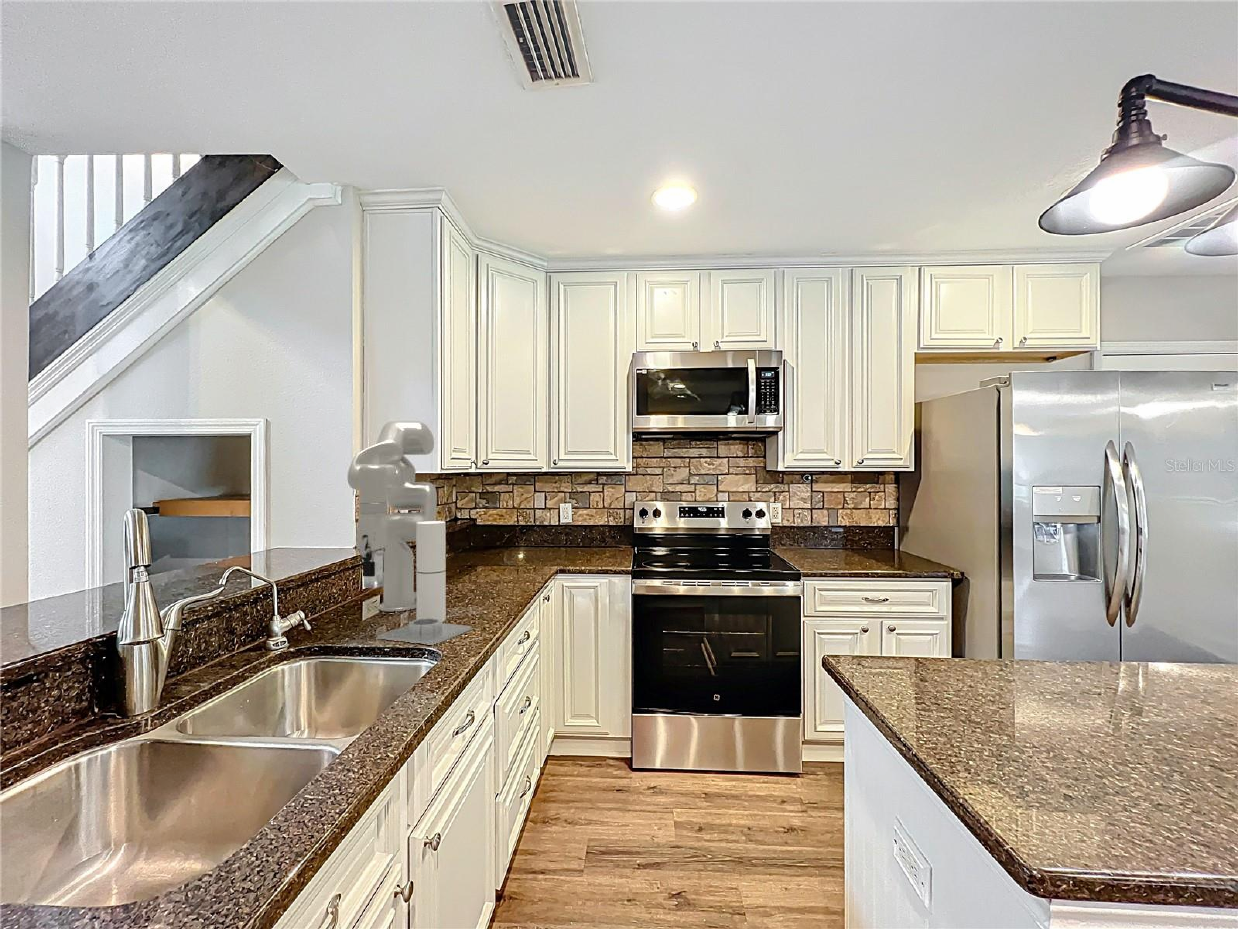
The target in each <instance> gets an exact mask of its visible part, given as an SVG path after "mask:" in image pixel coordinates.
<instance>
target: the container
mask: <svg viewBox="0 0 1238 929" xmlns="http://www.w3.org/2000/svg"><path fill="white" fill-rule="evenodd" d="M446 532H447V531H446V521H442V520H436V521H425V522H417V523H416V541H415V542H416V543H415V546H416V548H415V549H416V551H415V552H416V562H415V564H416V575H415V576H416V578H415V579H416V581H415V582H416V592H417V598H416V602H417V608H416V619H424V618H435V619H441V621H442V623H444V622H445V621H446V620H447V616H446V614H447V612H446V611H447V610H446V609H447V608H446V606H447V605H446V602H447V601H446V600H447V599H446V598H447V597H446V596H447V595H446V590H447V589H446V587H447V583H446V582H447V581H446V578H447V575H446V573H447V572H446V570H447V569H446V568H447V567H446V560H447V559H446V556H447V555H446V553H447V552H446V550H447V549H446V545H447V544H446V538H447V537H446Z"/></svg>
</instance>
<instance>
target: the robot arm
mask: <svg viewBox="0 0 1238 929" xmlns="http://www.w3.org/2000/svg"><path fill="white" fill-rule="evenodd" d="M434 447H435V438H434V435H433V433H432V431H431V430H430V428H429V427H428V425H427V424H425V423H424V422H422V421H417V420H393V421H389V422H386V423H385V424H384V425H383V427H382V429H381V431H380V433H379V436H378V438H377V440H376V443H374V444H372V445H371V446H369V447H366V448H365V449H363V450H361V451H359V452H358V453H357V454H355V456H354V457H353V458H352V461H351V463H350V466H349V468H348V471H347V482H348V485H349V487H350V488H351V489H353V490H355V491H358V520H357V528H356V530H357V531H356V550H357V551H358V553H359V554H360V556H361V562H362V576H363V578H364V577H373V576H375V562H373V560H374V552H375V551H376V550H379V549H382V550H383V586H382V587H383V590H382V591H383V594H382V595H383V602H382V603H380V604H379V605H378V610H379V611H382V612H388V613H389V612H390V613H391V612H394V611H395V612H404V611H405V610H406V611H410V609H411V610H414V609H417V591H414V587H415V586H414V584H415V583H414V582H415V581H414V580H415V579H414V578H415V577H414V573H415V572H414V564H415V563H414V560H415V556H414V553H413V550H412V548H411V547H410V546H409V545H408V544H407V542H416V523H417V522H425V521H437V503H438V502H437V500H438V499H437V498H438V497H437V496H438V494H437V490H436V487H435V485H434V484H433V483H431V482H427V481H416V468H415V466H414V465H413V463H412V462H411V461H410V460H409V459H408V458H407V457H406V456H407V455H408V456H409V455H411V456H418V455H419V456H421V455H422V456H423V455H424V456H427V455H430V454H431V453H432V452H433V450H434ZM405 455H406V456H405ZM388 508H390V509H392V510H395V511H396V510H397V511H421V512H392V513H388ZM370 549H371V550H370ZM369 553H371V554H370V555H369Z"/></svg>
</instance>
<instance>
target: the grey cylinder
mask: <svg viewBox="0 0 1238 929" xmlns="http://www.w3.org/2000/svg"><path fill="white" fill-rule="evenodd" d="M369 550H371V549H369ZM370 554H371V553H369V555H370ZM373 562H375V576H373V577H364V576H363V588H365V589H375V588H381V587H383V550H382V549H379V550H376V551H375V552H374V560H373Z"/></svg>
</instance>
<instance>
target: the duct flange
mask: <svg viewBox="0 0 1238 929" xmlns="http://www.w3.org/2000/svg"><path fill="white" fill-rule="evenodd" d="M471 630H472V625H463V624H462V625H461V624H453V623H446V622H445V623H444V622H442V621H441V619H435V618H424V619H417V618H416V619H414V620H411V621H409V622H408V624H406V625H404V626H401V627H399V628H396V629H392V630H390V631H386V632H384V633H381V634H378V635H377V636H376V639H377V638H380V639H386V640H398V641H405V642H410V643H423V644H427V645H433V646H435V645H437V644H436V643H438V644H440V643H442V642H445V641H447V640H450V639H452V638H455V637H457V636H459V635H461V634H465V633H468V632H469V631H471ZM386 640H385V641H386ZM410 643H409V644H410ZM434 644H435V645H434Z"/></svg>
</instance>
